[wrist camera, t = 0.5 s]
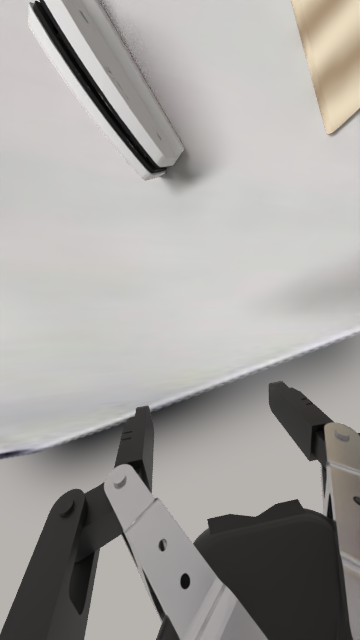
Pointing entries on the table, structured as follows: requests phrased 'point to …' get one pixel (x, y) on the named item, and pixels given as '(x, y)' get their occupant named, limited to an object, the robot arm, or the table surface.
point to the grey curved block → (106, 82)
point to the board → (332, 55)
